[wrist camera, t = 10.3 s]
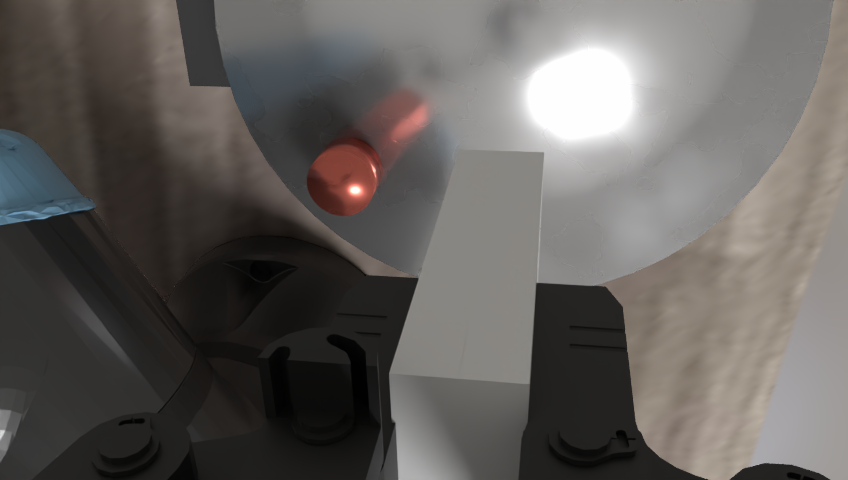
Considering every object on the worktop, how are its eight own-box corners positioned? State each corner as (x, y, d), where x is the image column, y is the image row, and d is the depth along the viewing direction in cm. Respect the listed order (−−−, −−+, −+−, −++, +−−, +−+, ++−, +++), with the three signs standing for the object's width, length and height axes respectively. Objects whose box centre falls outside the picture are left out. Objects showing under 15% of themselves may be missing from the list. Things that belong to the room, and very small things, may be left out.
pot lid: (261, 262, 34) (236, 297, 32) (184, -311, 25) (140, -324, 22) (764, 295, 31) (779, 337, 28) (894, -350, 21) (934, -370, 19)
